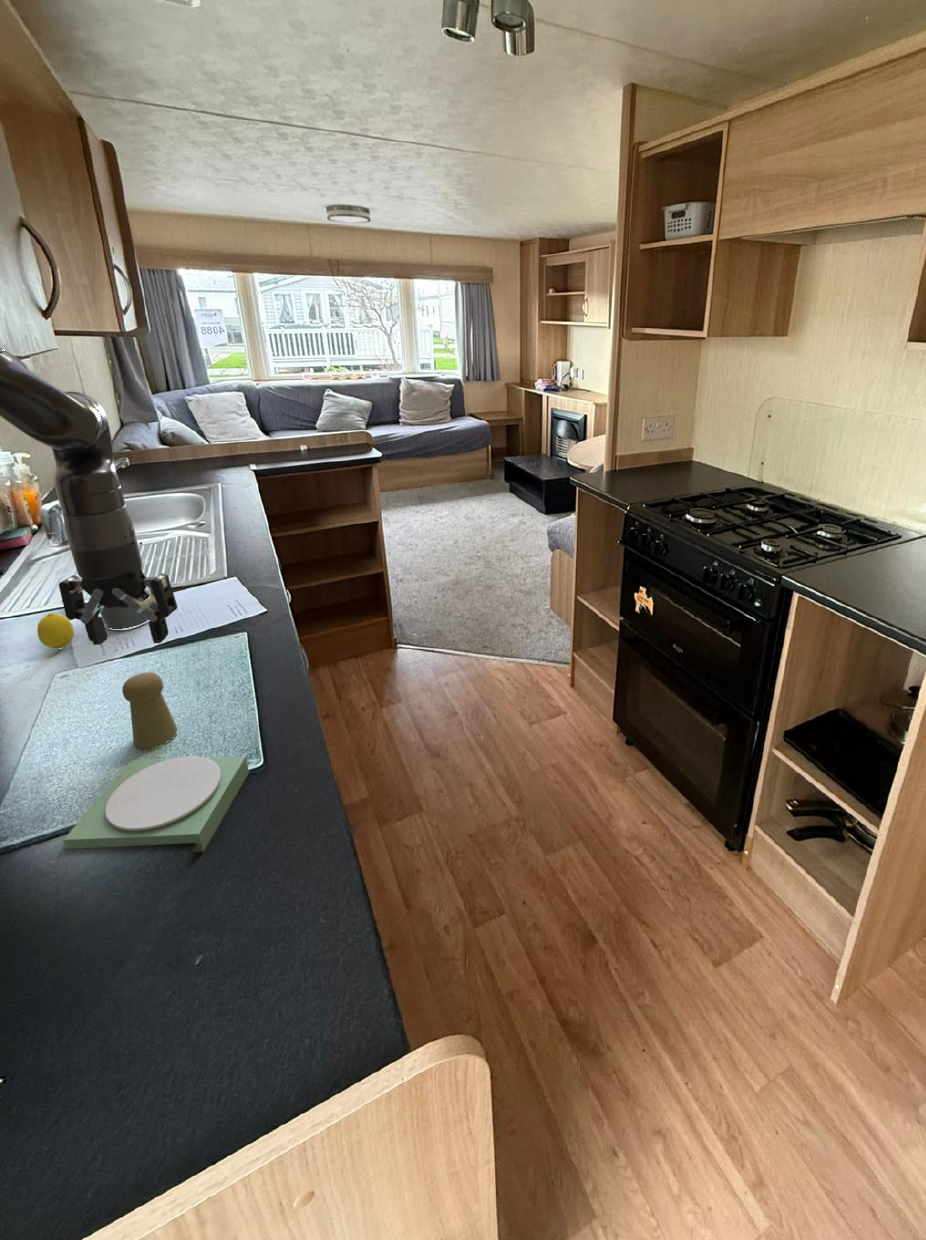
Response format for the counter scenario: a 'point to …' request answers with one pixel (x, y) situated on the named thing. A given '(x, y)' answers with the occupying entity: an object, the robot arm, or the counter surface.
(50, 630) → the lemon
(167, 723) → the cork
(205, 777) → the scale
